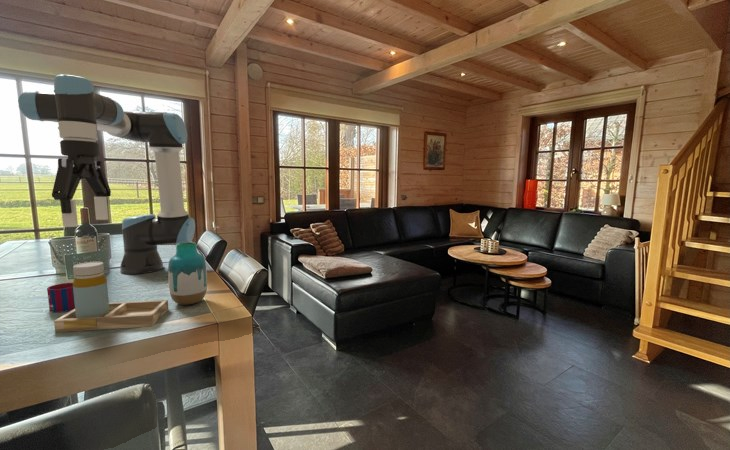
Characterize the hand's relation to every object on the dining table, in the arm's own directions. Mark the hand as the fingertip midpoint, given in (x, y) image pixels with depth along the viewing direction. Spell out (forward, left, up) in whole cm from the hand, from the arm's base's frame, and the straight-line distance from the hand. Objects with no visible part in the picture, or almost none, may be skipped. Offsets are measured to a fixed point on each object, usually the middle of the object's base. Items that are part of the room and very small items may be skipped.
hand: (87, 223), depth 88 cm
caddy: (+1, +5, -27) cm, 27 cm away
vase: (-9, +21, -27) cm, 35 cm away
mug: (-12, -13, -27) cm, 32 cm away
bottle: (+1, 0, -26) cm, 26 cm away
